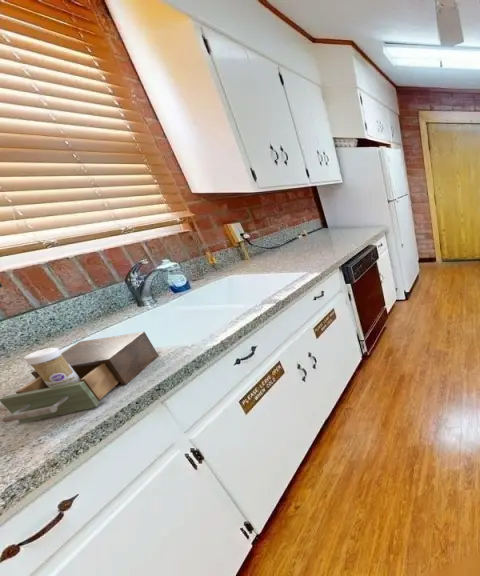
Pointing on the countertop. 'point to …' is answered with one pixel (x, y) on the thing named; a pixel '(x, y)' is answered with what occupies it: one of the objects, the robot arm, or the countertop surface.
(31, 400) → the drawer
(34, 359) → the sprinkles bottle
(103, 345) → the cabinet
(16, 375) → the countertop surface
